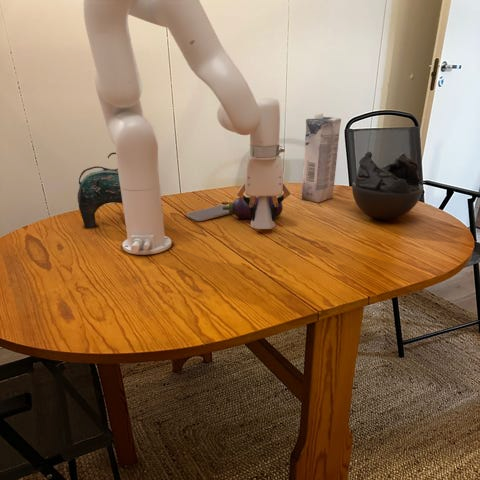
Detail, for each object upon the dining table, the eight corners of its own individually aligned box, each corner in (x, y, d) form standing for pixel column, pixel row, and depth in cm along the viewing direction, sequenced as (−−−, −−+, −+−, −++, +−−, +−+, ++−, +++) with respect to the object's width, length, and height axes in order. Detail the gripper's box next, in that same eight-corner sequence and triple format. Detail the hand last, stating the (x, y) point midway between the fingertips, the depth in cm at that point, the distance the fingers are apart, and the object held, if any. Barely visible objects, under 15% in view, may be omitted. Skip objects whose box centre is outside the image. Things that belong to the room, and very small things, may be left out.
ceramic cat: (149, 217, 138) (141, 149, 128) (152, 223, 132) (144, 153, 122) (82, 224, 132) (68, 153, 122) (82, 230, 127) (68, 157, 117)
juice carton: (336, 198, 155) (345, 113, 142) (319, 204, 149) (326, 116, 135) (315, 193, 161) (321, 111, 147) (297, 199, 154) (302, 114, 140)
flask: (272, 231, 121) (273, 194, 116) (247, 228, 123) (247, 192, 118) (278, 222, 127) (279, 187, 122) (253, 220, 129) (254, 185, 124)
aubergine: (283, 221, 133) (284, 196, 130) (222, 222, 133) (222, 197, 129) (281, 214, 140) (281, 190, 136) (223, 214, 139) (222, 191, 136)
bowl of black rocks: (430, 221, 133) (445, 155, 123) (386, 234, 123) (398, 163, 114) (378, 205, 147) (387, 145, 138) (334, 216, 137) (341, 152, 128)
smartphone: (185, 213, 138) (224, 204, 146) (185, 216, 138) (224, 207, 146) (198, 219, 133) (238, 209, 141) (198, 222, 133) (238, 212, 141)
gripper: (295, 148, 118) (291, 215, 128) (231, 149, 118) (232, 216, 128) (298, 153, 112) (294, 223, 121) (231, 154, 112) (232, 224, 121)
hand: (263, 219), depth 124 cm, fingers closed on flask, 4 cm apart
